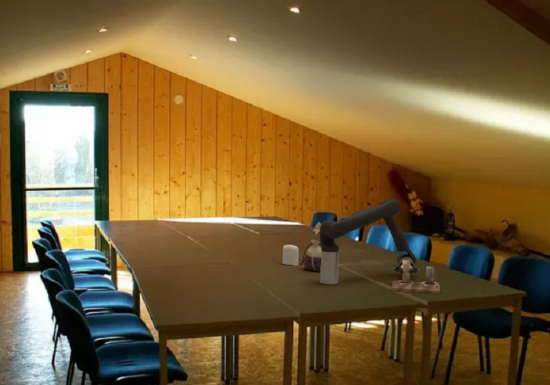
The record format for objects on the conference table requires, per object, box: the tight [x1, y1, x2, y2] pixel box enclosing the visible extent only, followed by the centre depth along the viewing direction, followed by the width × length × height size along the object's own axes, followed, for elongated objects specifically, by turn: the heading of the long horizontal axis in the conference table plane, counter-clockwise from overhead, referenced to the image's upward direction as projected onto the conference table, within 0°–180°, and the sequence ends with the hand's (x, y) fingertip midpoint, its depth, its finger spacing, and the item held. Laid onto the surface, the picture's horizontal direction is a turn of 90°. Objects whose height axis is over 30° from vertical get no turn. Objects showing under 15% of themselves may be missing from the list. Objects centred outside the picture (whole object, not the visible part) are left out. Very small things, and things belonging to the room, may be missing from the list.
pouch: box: [298, 238, 322, 273], centre depth 362 cm, size 25×8×19 cm, turn 52°
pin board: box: [391, 266, 441, 295], centre depth 319 cm, size 24×18×12 cm
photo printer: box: [282, 244, 300, 267], centre depth 380 cm, size 10×4×12 cm, turn 60°
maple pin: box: [401, 260, 411, 284], centre depth 320 cm, size 4×4×12 cm
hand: (406, 271), depth 318 cm, fingers closed on maple pin, 4 cm apart
